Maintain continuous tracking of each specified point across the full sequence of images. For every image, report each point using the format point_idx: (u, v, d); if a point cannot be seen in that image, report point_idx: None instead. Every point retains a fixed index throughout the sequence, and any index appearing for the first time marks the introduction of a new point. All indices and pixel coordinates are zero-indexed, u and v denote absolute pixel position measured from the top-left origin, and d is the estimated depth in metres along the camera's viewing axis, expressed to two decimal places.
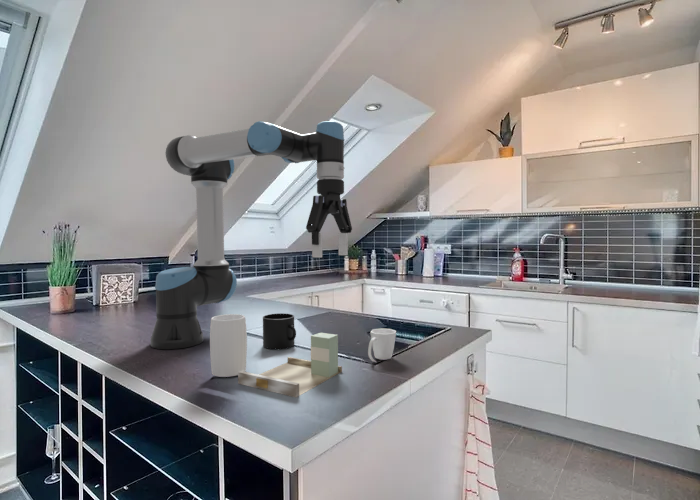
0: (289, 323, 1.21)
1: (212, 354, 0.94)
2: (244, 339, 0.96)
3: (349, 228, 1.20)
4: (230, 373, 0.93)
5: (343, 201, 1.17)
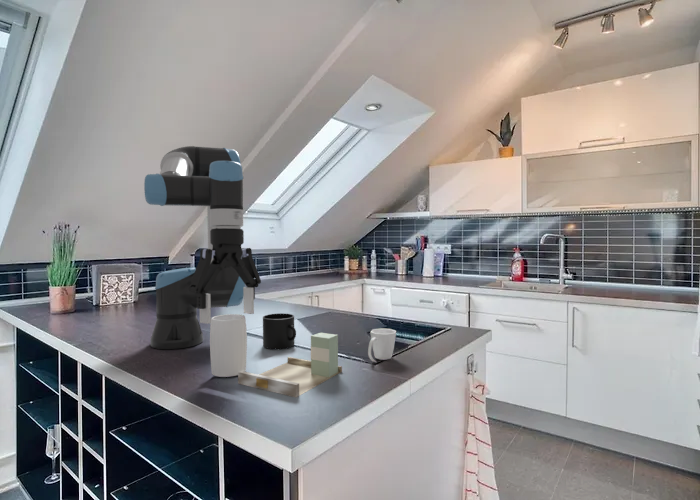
0: (289, 323, 1.21)
1: (212, 354, 0.94)
2: (244, 339, 0.96)
3: (257, 281, 1.03)
4: (230, 373, 0.93)
5: (247, 251, 1.00)
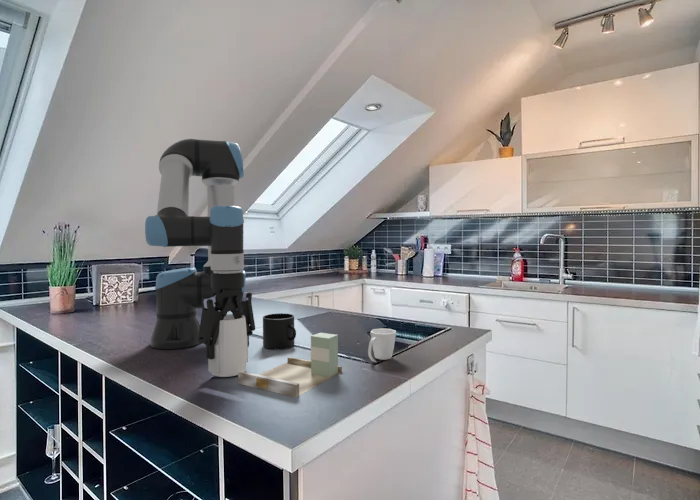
0: (289, 323, 1.21)
1: None
2: (244, 339, 0.96)
3: (251, 328, 1.02)
4: (230, 373, 0.93)
5: (247, 295, 1.01)
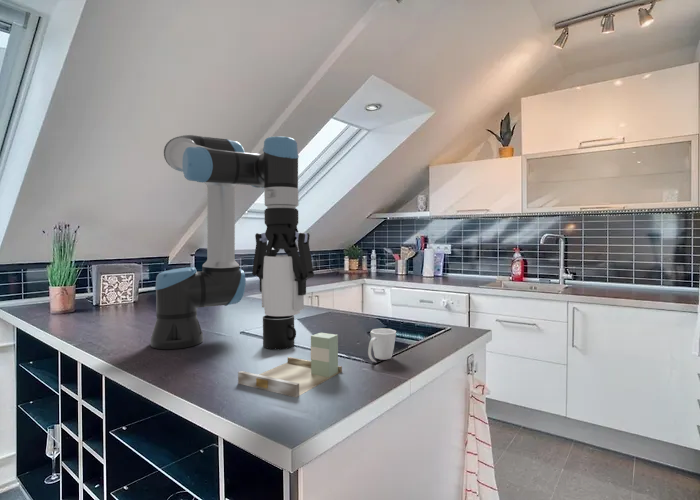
0: (289, 323, 1.21)
1: None
2: (274, 280, 0.88)
3: (303, 274, 0.88)
4: (265, 311, 0.90)
5: None
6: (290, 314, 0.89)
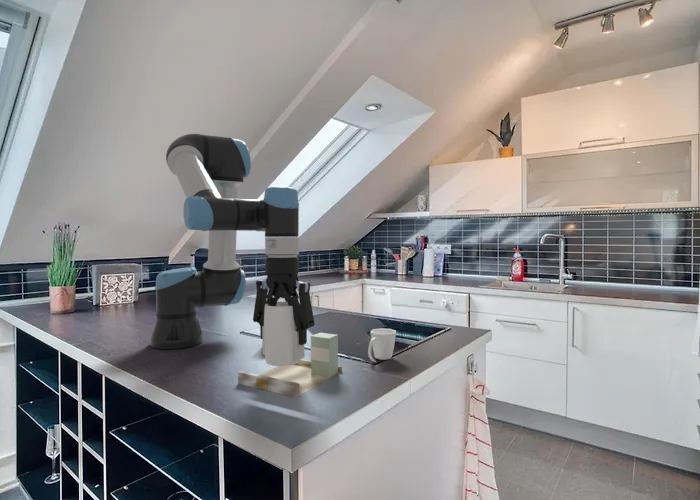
0: None
1: None
2: (275, 330, 0.88)
3: (303, 324, 0.88)
4: (265, 359, 0.91)
5: None
6: (291, 363, 0.89)
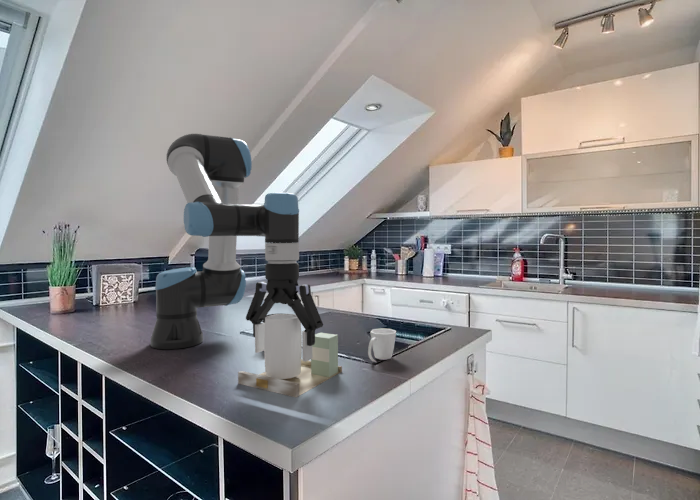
0: None
1: None
2: (275, 343, 0.88)
3: (312, 325, 0.87)
4: None
5: None
6: (291, 376, 0.89)
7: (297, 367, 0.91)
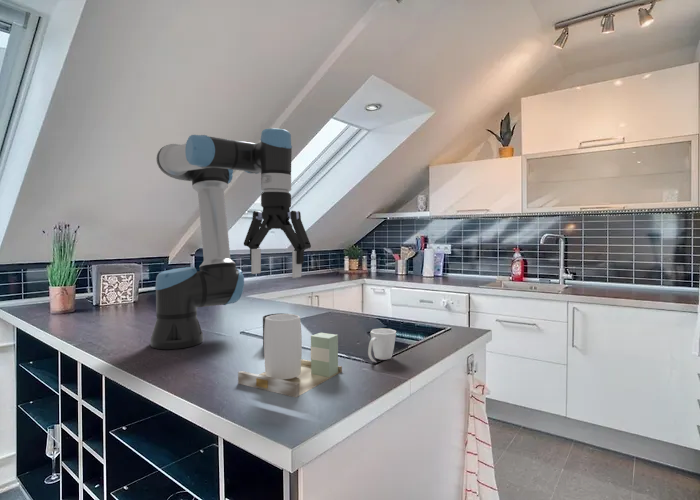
0: None
1: None
2: (275, 343, 0.88)
3: (301, 245, 0.98)
4: None
5: None
6: (291, 377, 0.89)
7: (297, 368, 0.91)
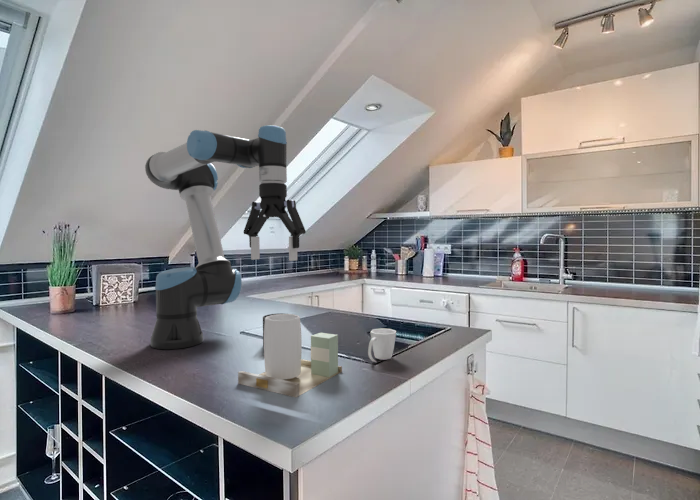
0: None
1: None
2: (274, 344, 0.88)
3: (296, 231, 1.08)
4: (265, 372, 0.91)
5: None
6: (291, 377, 0.89)
7: (297, 368, 0.91)
